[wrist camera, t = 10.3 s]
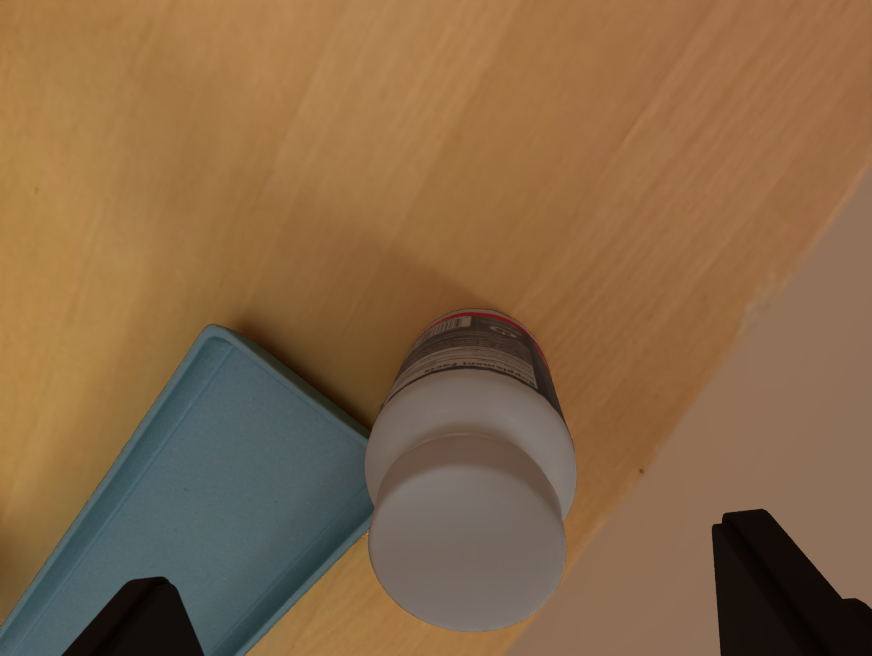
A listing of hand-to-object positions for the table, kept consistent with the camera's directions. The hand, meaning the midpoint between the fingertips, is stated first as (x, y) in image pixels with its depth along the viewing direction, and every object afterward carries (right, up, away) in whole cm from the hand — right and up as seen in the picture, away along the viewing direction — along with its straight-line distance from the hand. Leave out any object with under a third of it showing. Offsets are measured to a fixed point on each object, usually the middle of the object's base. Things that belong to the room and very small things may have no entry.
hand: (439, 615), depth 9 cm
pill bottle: (+1, +3, +11) cm, 11 cm away
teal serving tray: (-12, -6, +15) cm, 20 cm away
